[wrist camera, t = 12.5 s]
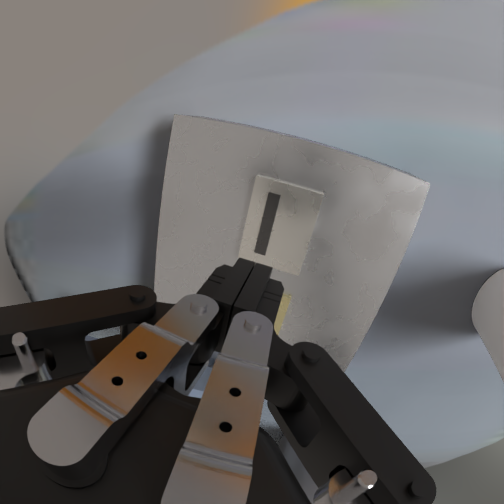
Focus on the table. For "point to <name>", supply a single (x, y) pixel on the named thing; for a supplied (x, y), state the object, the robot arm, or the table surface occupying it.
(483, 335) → the cup
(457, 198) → the table surface
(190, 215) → the chassis
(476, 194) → the table surface
